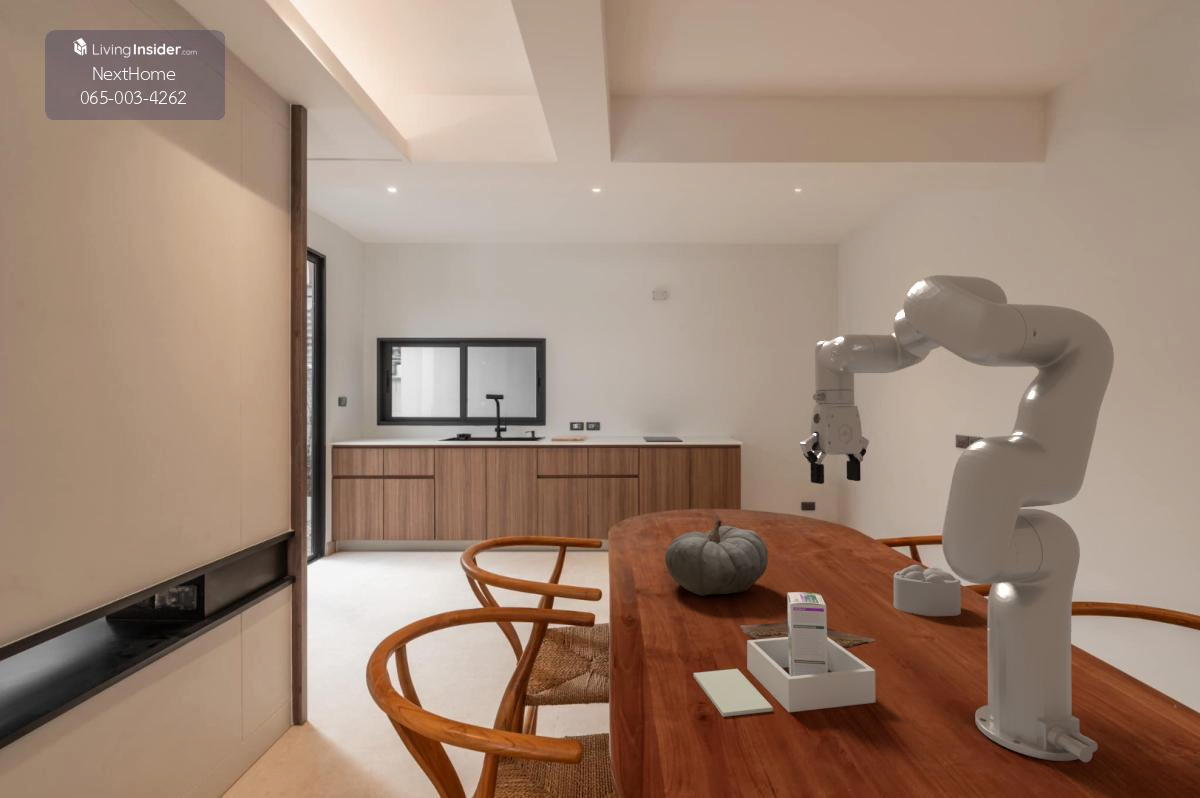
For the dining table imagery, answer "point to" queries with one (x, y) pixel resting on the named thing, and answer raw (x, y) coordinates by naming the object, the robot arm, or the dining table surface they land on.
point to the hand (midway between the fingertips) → (835, 481)
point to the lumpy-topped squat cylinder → (927, 592)
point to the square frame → (811, 677)
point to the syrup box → (807, 634)
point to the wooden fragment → (782, 631)
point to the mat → (732, 692)
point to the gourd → (717, 560)
